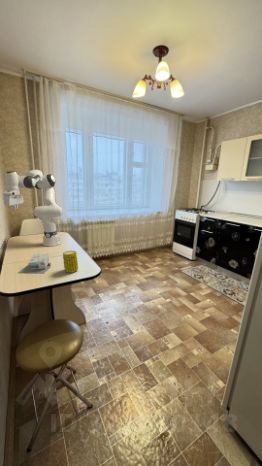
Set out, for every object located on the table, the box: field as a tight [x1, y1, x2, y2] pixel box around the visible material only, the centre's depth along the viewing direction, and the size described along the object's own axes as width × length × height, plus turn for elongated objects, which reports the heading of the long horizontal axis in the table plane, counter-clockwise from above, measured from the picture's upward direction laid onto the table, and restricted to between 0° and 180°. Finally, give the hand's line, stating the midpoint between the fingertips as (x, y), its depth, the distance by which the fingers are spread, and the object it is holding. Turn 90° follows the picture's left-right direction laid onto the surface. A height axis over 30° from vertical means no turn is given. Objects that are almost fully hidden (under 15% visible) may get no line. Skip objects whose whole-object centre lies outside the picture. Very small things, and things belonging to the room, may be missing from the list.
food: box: [62, 250, 79, 274], centre depth 138 cm, size 15×12×10 cm
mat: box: [17, 264, 52, 274], centre depth 140 cm, size 12×18×1 cm, turn 90°
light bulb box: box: [28, 252, 50, 270], centre depth 142 cm, size 11×7×11 cm
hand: (15, 210), depth 154 cm, fingers closed
